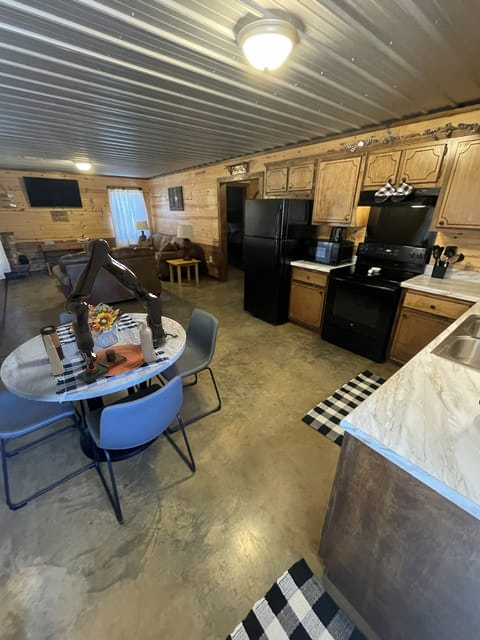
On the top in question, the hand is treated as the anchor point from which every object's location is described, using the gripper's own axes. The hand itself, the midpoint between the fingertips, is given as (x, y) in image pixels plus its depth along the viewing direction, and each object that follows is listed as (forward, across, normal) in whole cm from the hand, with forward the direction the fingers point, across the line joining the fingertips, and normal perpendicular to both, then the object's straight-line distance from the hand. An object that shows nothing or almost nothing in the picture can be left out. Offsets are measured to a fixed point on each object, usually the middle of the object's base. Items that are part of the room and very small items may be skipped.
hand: (91, 368), depth 137 cm
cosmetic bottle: (+4, +19, +8) cm, 21 cm away
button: (+2, 0, 0) cm, 2 cm away
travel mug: (+4, +34, +1) cm, 34 cm away
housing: (+4, 0, 0) cm, 4 cm away
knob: (+2, +2, -13) cm, 13 cm away
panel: (+4, +2, -13) cm, 13 cm away
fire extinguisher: (+4, -14, -26) cm, 30 cm away
